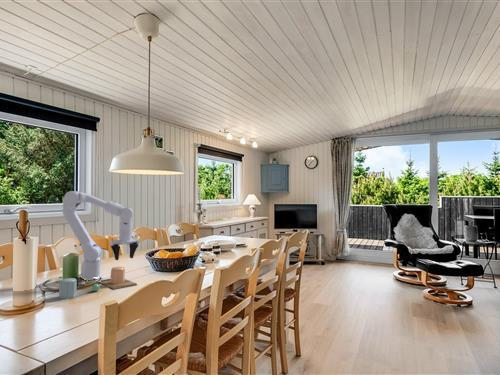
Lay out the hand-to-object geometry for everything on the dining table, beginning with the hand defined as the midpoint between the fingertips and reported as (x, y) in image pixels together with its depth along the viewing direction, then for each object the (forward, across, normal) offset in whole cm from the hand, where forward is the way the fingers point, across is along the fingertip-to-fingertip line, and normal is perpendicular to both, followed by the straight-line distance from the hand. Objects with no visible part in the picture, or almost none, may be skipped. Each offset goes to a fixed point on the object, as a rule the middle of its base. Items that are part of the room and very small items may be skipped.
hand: (124, 258), depth 157 cm
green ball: (+8, -19, -13) cm, 24 cm away
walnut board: (+9, -7, -8) cm, 14 cm away
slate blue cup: (+9, -30, -13) cm, 34 cm away
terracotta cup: (+9, -7, -8) cm, 14 cm away
